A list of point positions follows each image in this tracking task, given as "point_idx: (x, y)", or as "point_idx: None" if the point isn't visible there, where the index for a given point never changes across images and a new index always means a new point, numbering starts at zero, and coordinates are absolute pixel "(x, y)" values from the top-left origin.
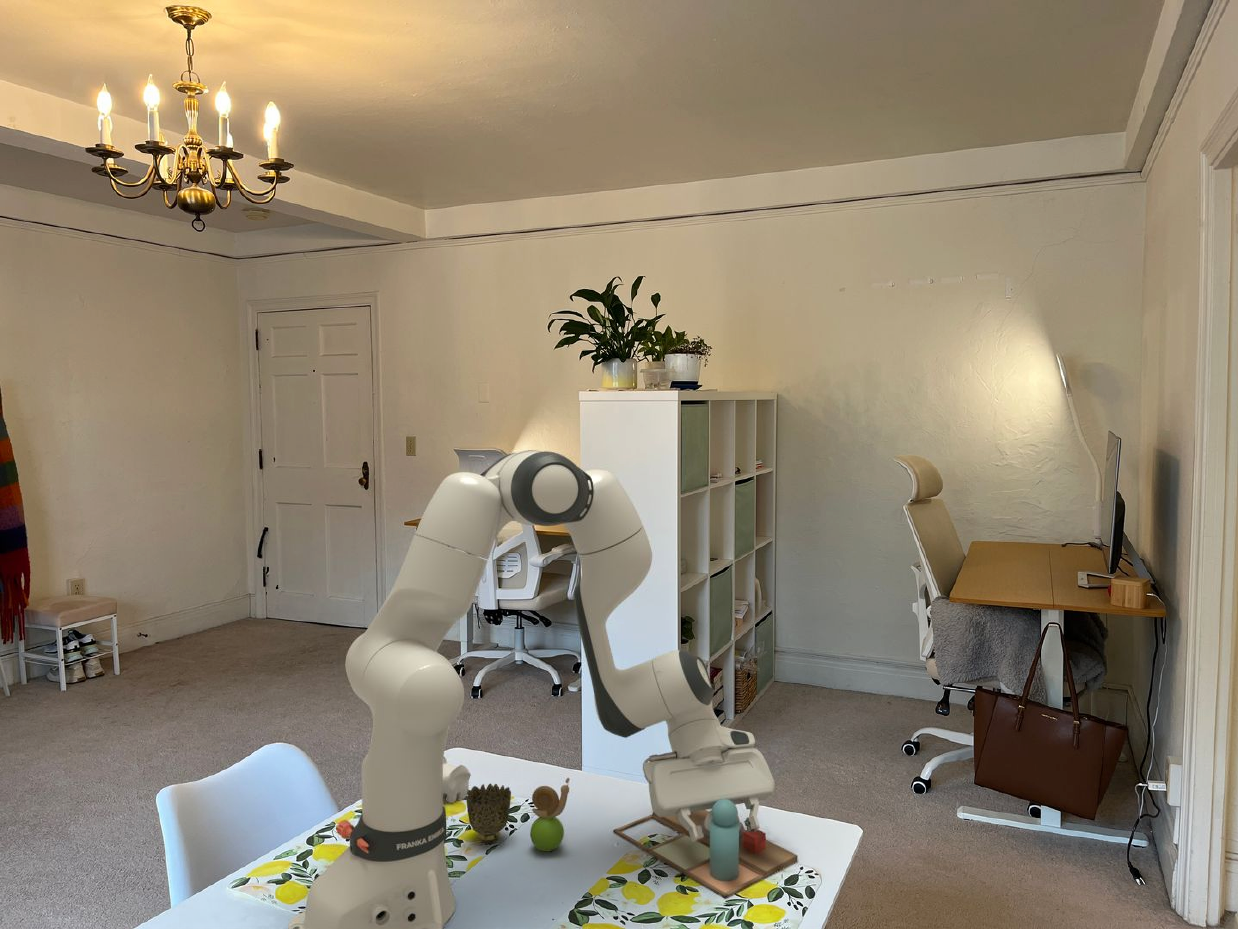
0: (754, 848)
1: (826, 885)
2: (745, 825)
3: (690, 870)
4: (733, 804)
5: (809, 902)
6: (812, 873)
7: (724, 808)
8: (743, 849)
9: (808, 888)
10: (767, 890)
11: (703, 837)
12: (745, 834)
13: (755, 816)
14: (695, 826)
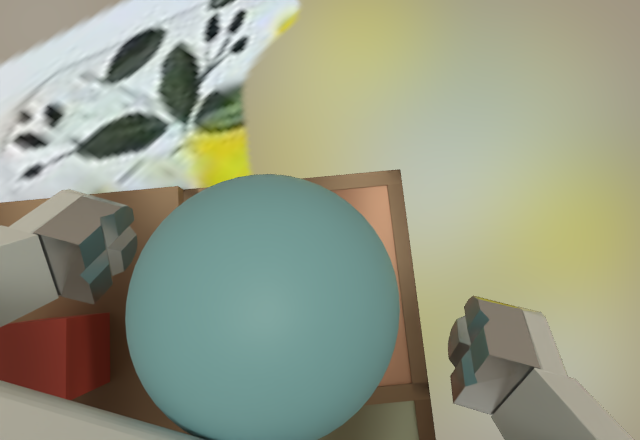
0: (97, 318)
1: (60, 50)
2: (110, 284)
3: (399, 383)
4: (177, 231)
5: (183, 15)
6: (33, 125)
7: (331, 227)
8: (123, 365)
9: (121, 70)
10: (241, 134)
11: (471, 298)
12: (69, 386)
13: (20, 224)
14: (539, 366)
